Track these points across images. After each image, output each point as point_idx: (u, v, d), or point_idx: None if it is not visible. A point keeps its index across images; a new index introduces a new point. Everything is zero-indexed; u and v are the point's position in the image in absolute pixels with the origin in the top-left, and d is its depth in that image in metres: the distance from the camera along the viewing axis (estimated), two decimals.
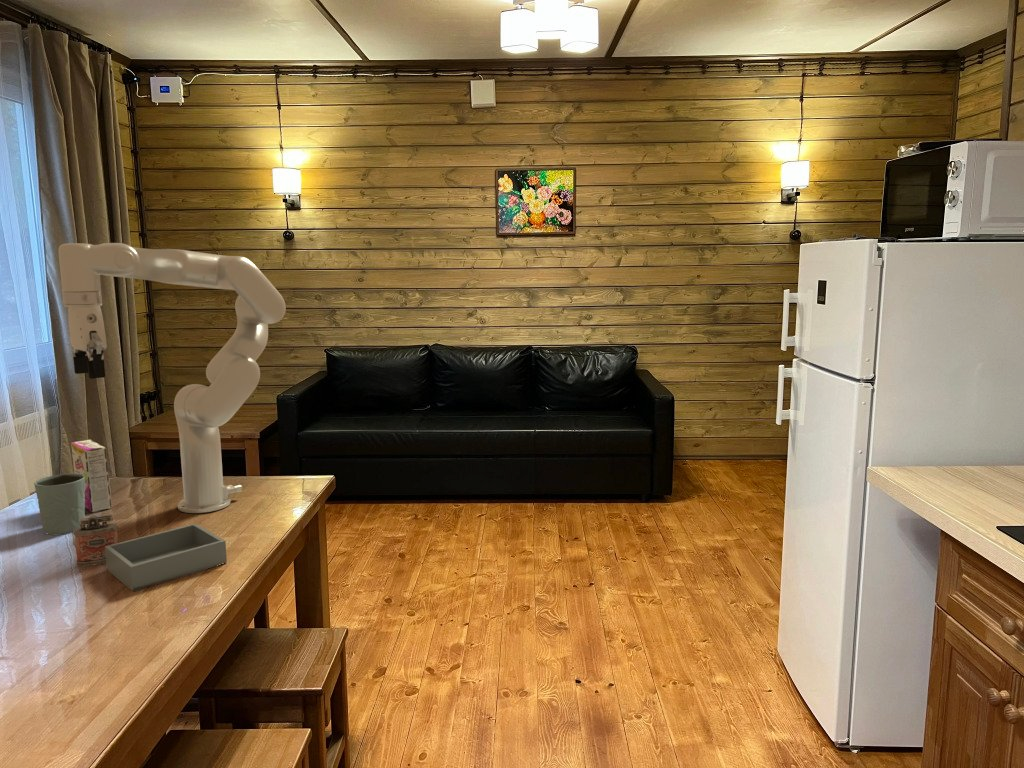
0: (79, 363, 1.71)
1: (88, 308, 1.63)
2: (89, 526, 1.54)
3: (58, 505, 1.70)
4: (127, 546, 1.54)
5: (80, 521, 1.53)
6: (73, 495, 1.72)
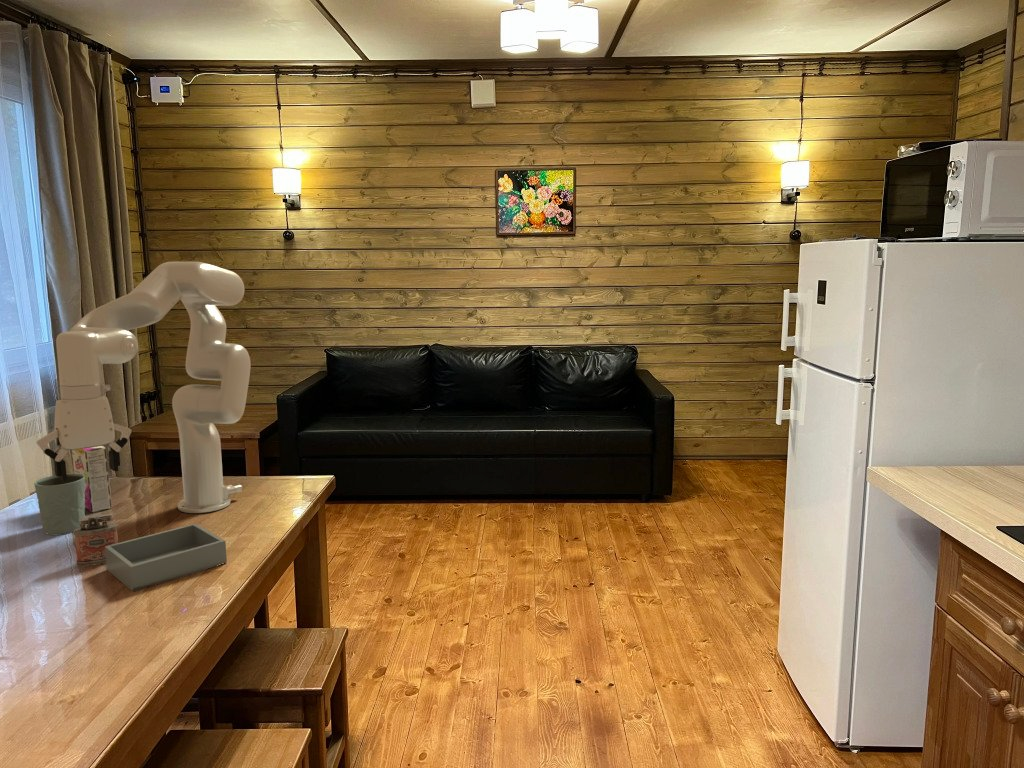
0: None
1: None
2: (89, 526, 1.54)
3: (58, 505, 1.70)
4: (127, 546, 1.54)
5: (80, 521, 1.53)
6: (73, 495, 1.72)
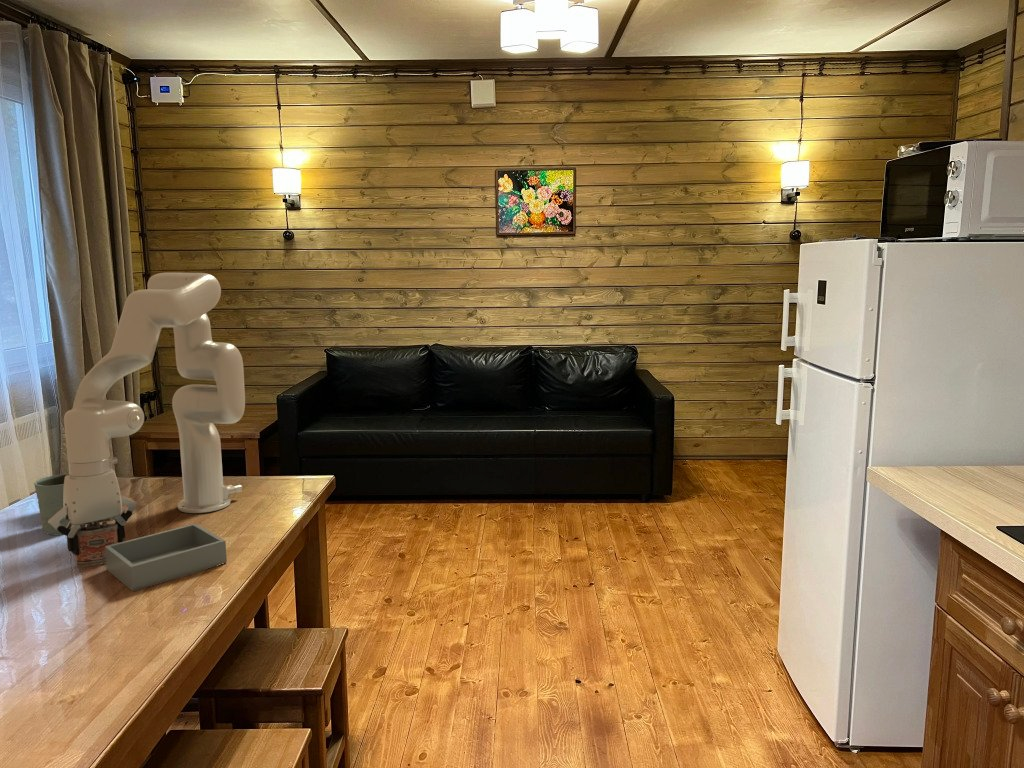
0: None
1: None
2: (89, 526, 1.54)
3: (58, 505, 1.70)
4: (127, 546, 1.54)
5: None
6: None
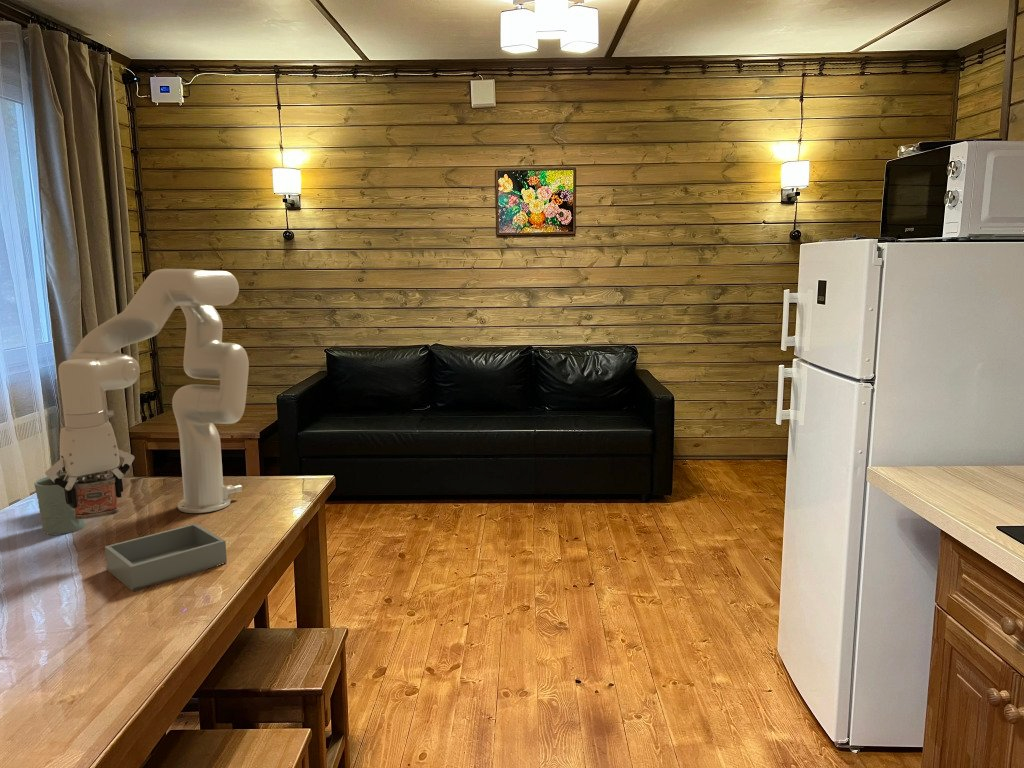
0: None
1: None
2: (86, 479, 1.53)
3: (58, 505, 1.70)
4: (127, 546, 1.54)
5: None
6: None
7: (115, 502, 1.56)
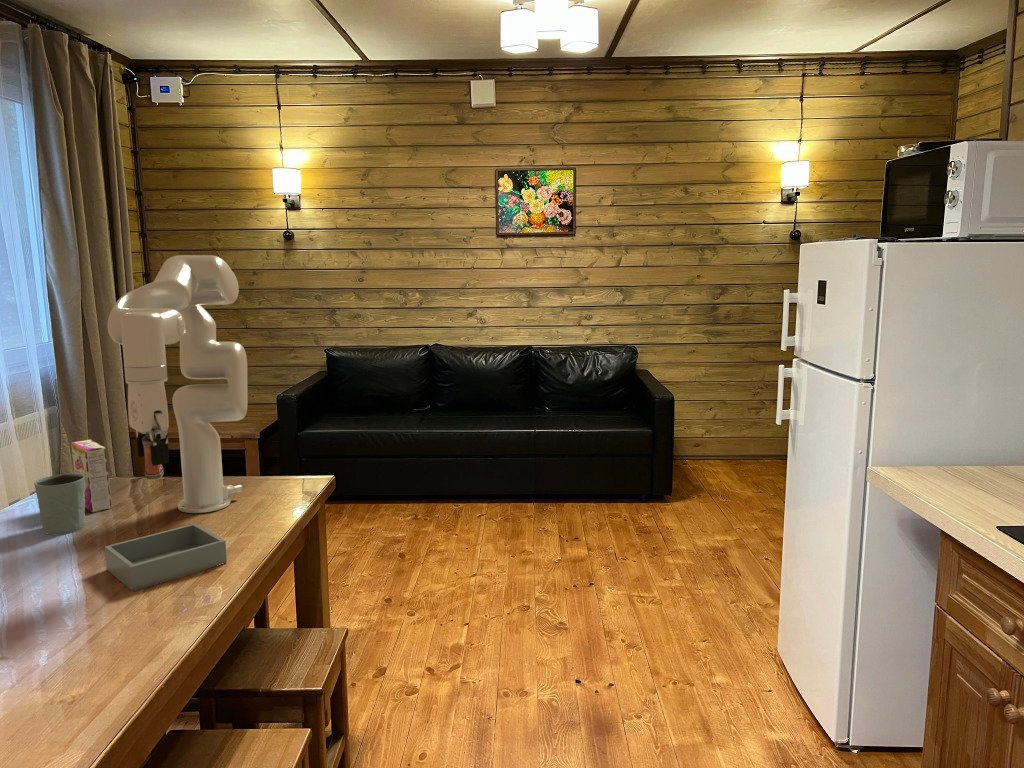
0: None
1: None
2: (155, 435, 1.49)
3: (58, 505, 1.70)
4: (127, 546, 1.54)
5: None
6: (73, 495, 1.72)
7: None
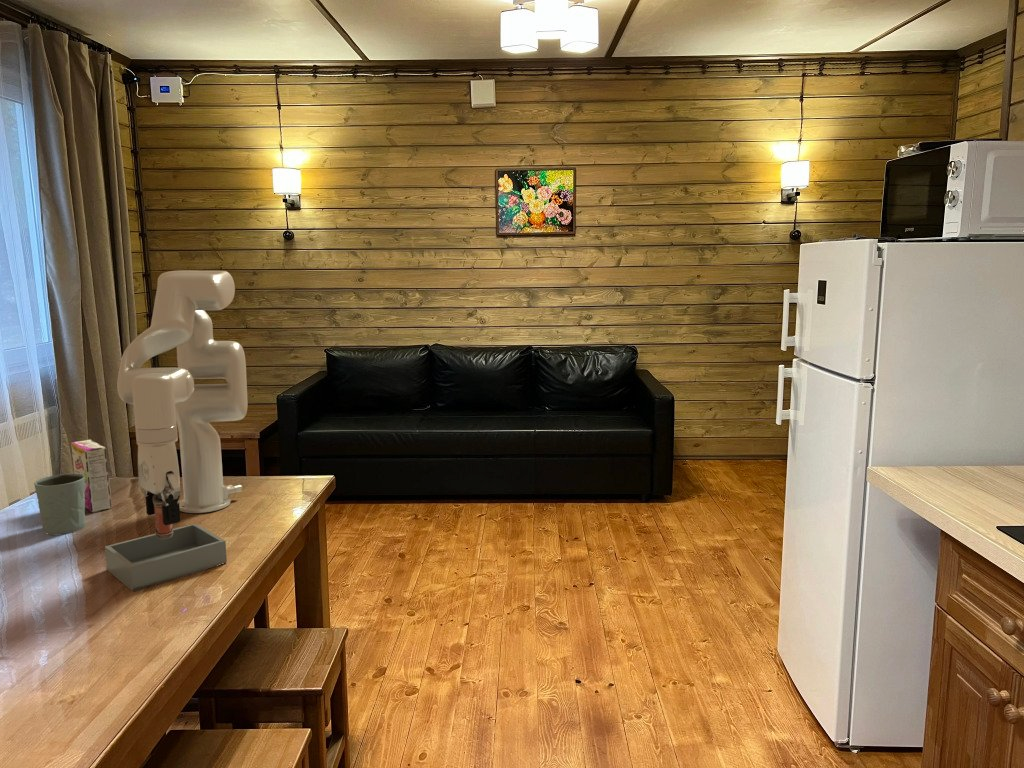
0: None
1: None
2: None
3: (58, 505, 1.70)
4: (127, 546, 1.54)
5: None
6: (73, 495, 1.72)
7: None
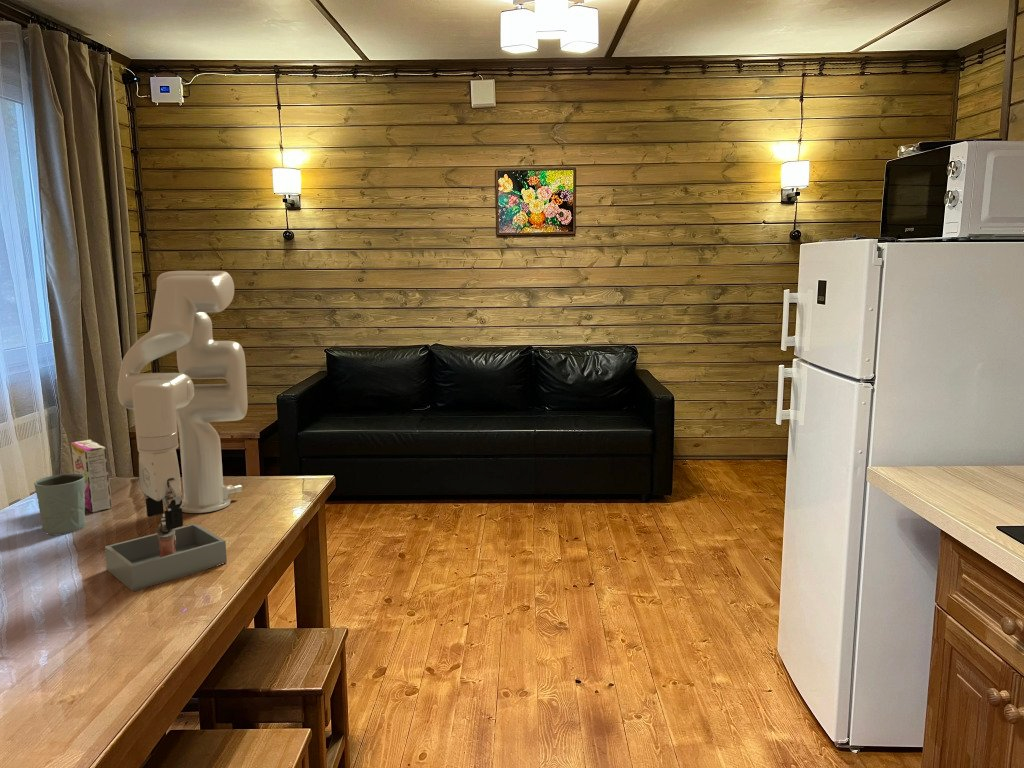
0: None
1: None
2: None
3: (58, 505, 1.70)
4: (127, 546, 1.54)
5: None
6: (73, 495, 1.72)
7: None
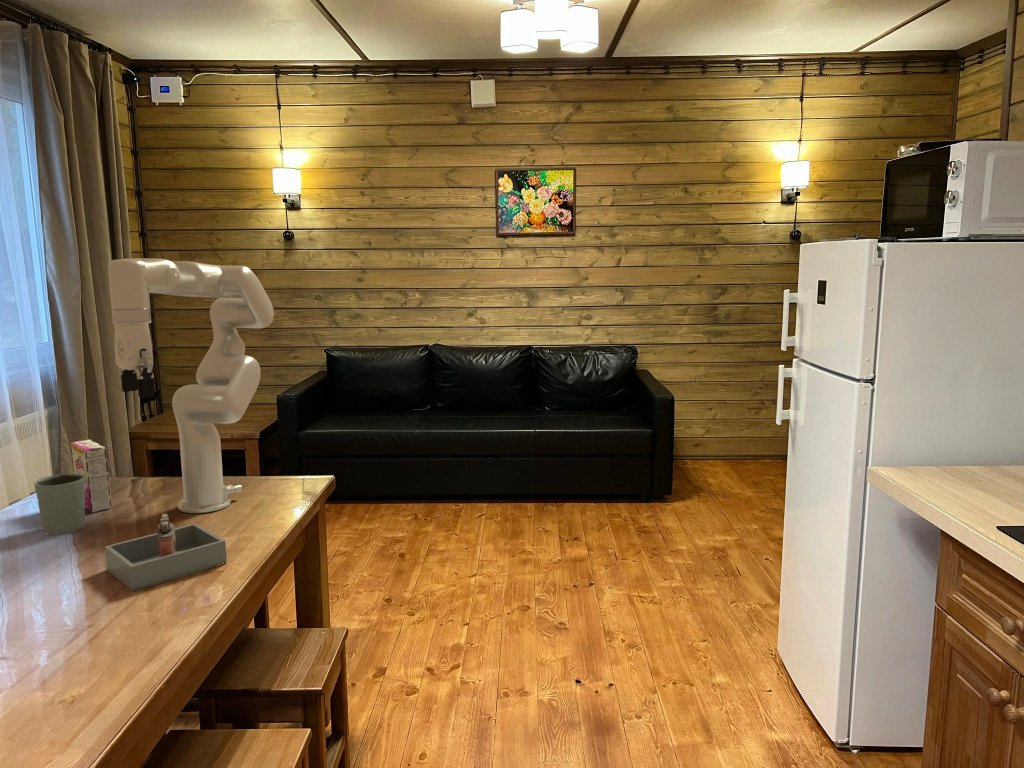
0: None
1: None
2: (169, 527, 1.52)
3: (58, 505, 1.70)
4: (127, 546, 1.54)
5: (167, 524, 1.50)
6: (73, 495, 1.72)
7: None
